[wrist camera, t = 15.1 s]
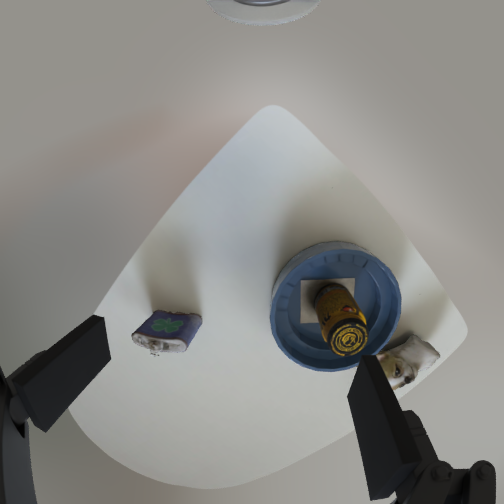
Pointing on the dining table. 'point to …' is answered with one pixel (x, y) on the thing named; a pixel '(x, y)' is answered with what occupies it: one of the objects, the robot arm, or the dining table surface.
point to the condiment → (335, 314)
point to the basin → (365, 294)
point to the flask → (167, 331)
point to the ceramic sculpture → (407, 361)
